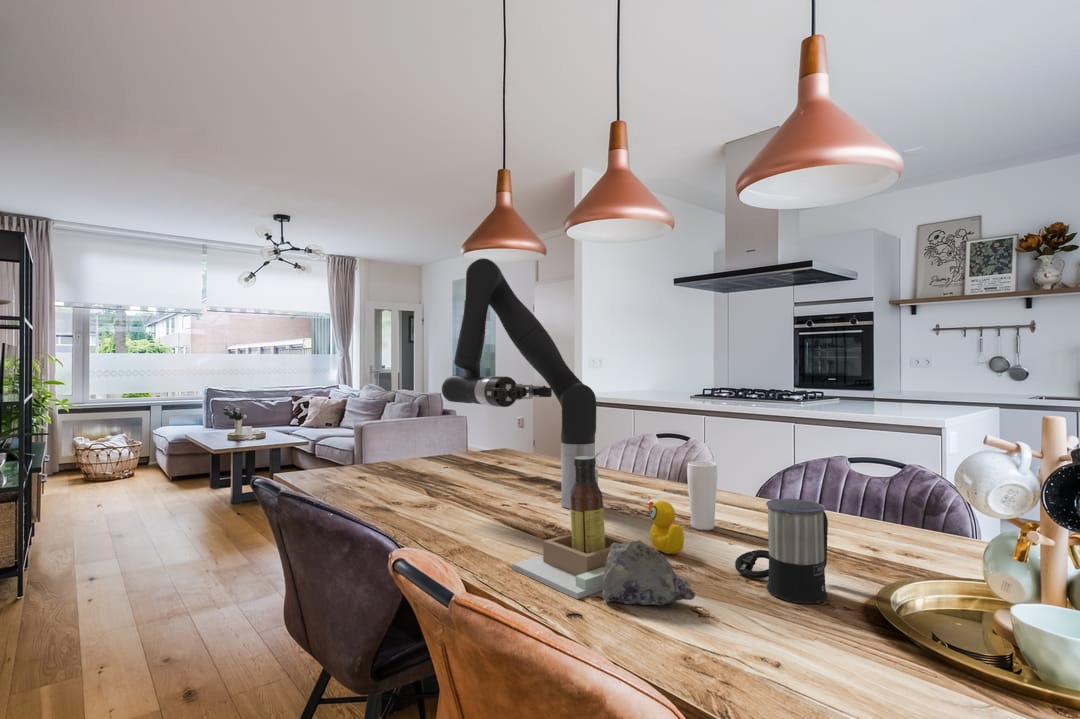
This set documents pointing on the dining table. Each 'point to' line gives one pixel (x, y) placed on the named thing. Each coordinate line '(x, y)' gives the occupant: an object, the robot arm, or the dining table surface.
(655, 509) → the duckling
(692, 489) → the white tumbler
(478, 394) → the robot arm
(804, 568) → the milk frother
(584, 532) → the sauce bottle
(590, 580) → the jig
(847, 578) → the dining table surface
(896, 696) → the dining table surface
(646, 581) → the mineral rock
